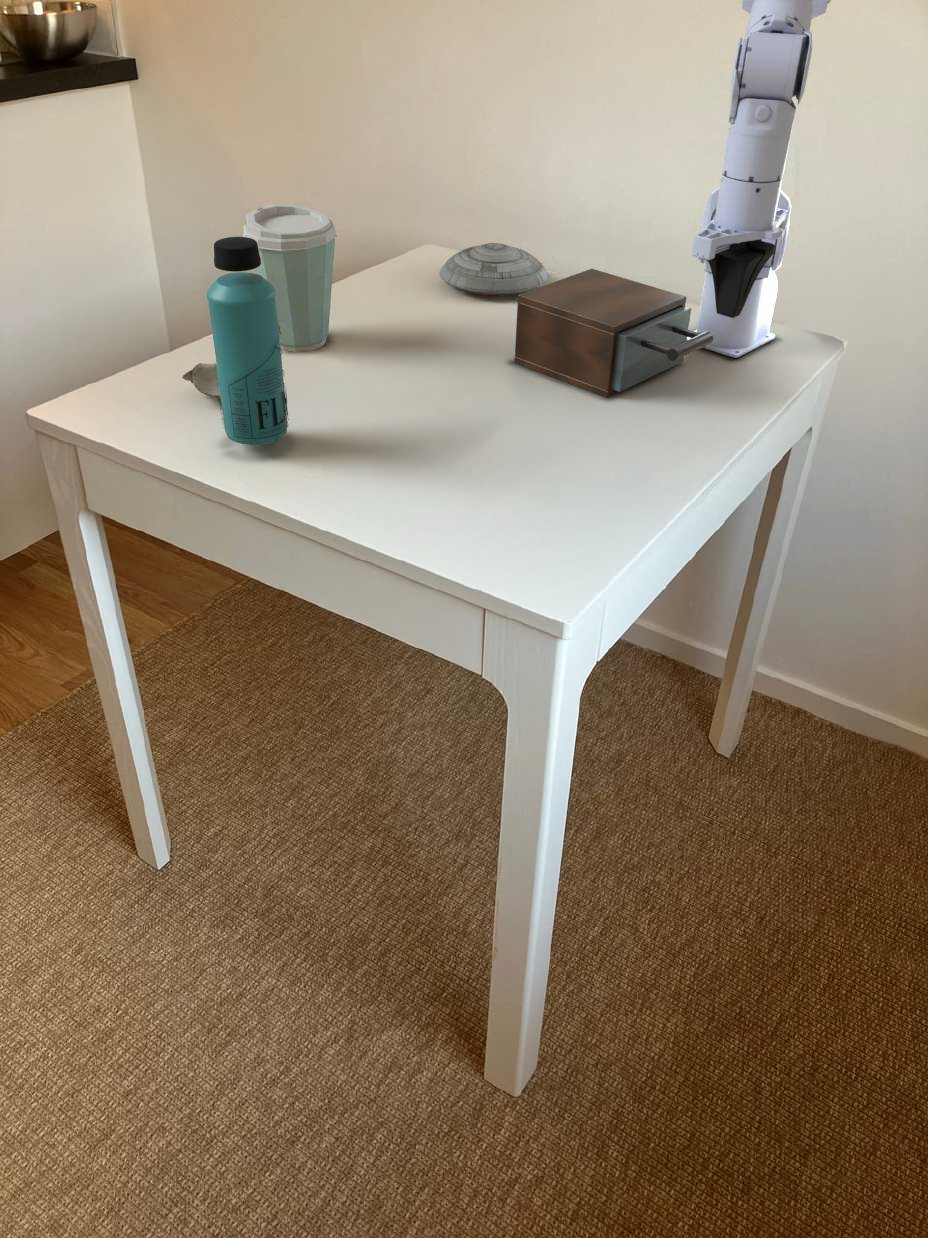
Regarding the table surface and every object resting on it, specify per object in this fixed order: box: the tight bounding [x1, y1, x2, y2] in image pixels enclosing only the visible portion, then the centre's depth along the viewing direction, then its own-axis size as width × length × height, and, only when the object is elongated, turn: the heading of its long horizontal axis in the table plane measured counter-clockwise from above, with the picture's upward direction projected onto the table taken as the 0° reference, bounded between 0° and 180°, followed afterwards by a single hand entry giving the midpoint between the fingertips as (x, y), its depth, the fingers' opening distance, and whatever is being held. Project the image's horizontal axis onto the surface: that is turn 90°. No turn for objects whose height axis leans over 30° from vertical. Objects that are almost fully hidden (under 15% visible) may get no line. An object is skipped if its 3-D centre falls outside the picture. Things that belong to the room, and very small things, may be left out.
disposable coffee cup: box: [242, 203, 338, 353], centre depth 122 cm, size 11×11×15 cm
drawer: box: [612, 305, 713, 393], centre depth 118 cm, size 17×12×6 cm
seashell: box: [181, 362, 221, 400], centre depth 113 cm, size 8×3×8 cm
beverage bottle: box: [206, 236, 290, 446], centre depth 98 cm, size 6×7×20 cm
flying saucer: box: [439, 242, 549, 296], centre depth 143 cm, size 15×15×6 cm
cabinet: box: [514, 268, 687, 399], centre depth 120 cm, size 14×14×8 cm
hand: (728, 314), depth 108 cm, fingers closed
